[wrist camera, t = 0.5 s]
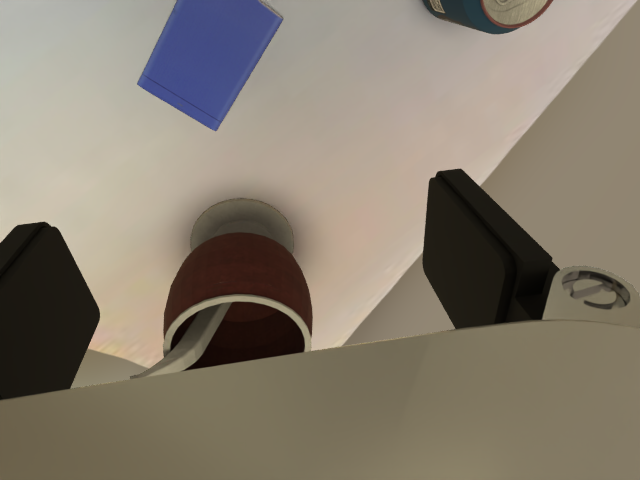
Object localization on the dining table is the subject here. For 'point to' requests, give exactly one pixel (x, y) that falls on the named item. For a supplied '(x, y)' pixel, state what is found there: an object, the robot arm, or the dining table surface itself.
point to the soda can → (488, 13)
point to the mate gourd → (236, 292)
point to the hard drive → (208, 55)
